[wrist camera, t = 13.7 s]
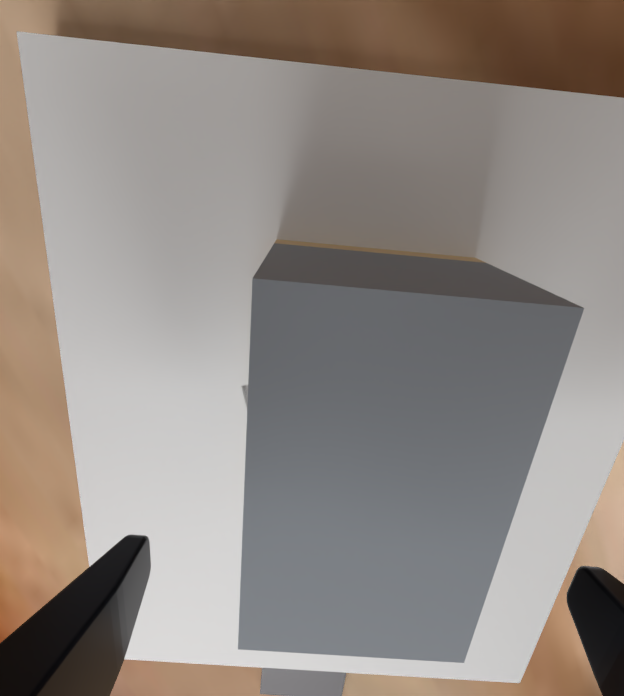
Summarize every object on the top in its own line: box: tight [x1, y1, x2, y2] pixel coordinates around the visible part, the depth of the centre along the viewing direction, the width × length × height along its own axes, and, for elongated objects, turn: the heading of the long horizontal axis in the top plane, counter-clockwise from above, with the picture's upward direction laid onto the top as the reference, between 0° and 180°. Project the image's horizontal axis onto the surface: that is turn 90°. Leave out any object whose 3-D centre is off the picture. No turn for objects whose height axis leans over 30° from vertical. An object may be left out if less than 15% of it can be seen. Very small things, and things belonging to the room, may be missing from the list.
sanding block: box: [238, 239, 584, 663], centre depth 11 cm, size 9×6×5 cm, turn 175°
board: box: [17, 31, 624, 683], centre depth 15 cm, size 22×18×2 cm
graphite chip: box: [260, 668, 346, 696], centre depth 20 cm, size 4×4×1 cm
